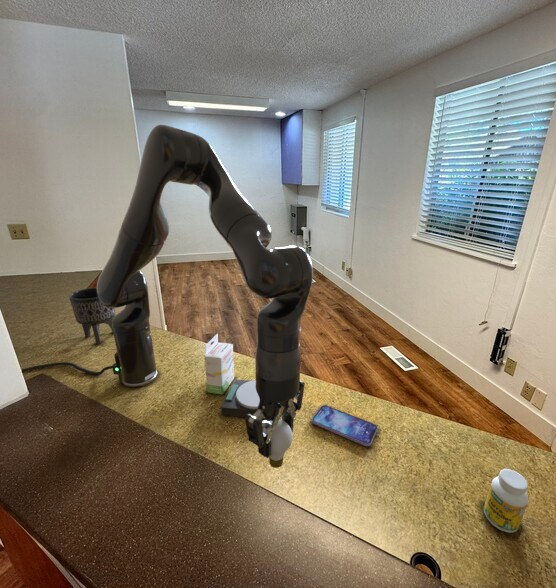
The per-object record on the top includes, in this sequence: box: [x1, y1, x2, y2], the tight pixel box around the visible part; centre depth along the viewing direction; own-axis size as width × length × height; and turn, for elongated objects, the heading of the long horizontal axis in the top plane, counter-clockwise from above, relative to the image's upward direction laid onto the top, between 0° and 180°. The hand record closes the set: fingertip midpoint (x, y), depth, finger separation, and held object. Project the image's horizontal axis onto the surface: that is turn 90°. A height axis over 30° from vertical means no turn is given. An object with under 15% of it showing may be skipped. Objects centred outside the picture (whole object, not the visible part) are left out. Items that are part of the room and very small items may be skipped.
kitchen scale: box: [220, 378, 268, 420], centre depth 82 cm, size 14×12×3 cm
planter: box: [68, 287, 116, 346], centre depth 111 cm, size 13×13×18 cm
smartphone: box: [311, 404, 378, 447], centre depth 75 cm, size 7×1×15 cm
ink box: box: [204, 333, 235, 395], centre depth 86 cm, size 9×5×15 cm, turn 168°
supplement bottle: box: [483, 468, 529, 533], centre depth 53 cm, size 5×5×10 cm
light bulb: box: [263, 419, 294, 469], centre depth 57 cm, size 6×6×10 cm
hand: (276, 442), depth 57 cm, fingers closed on light bulb, 6 cm apart
